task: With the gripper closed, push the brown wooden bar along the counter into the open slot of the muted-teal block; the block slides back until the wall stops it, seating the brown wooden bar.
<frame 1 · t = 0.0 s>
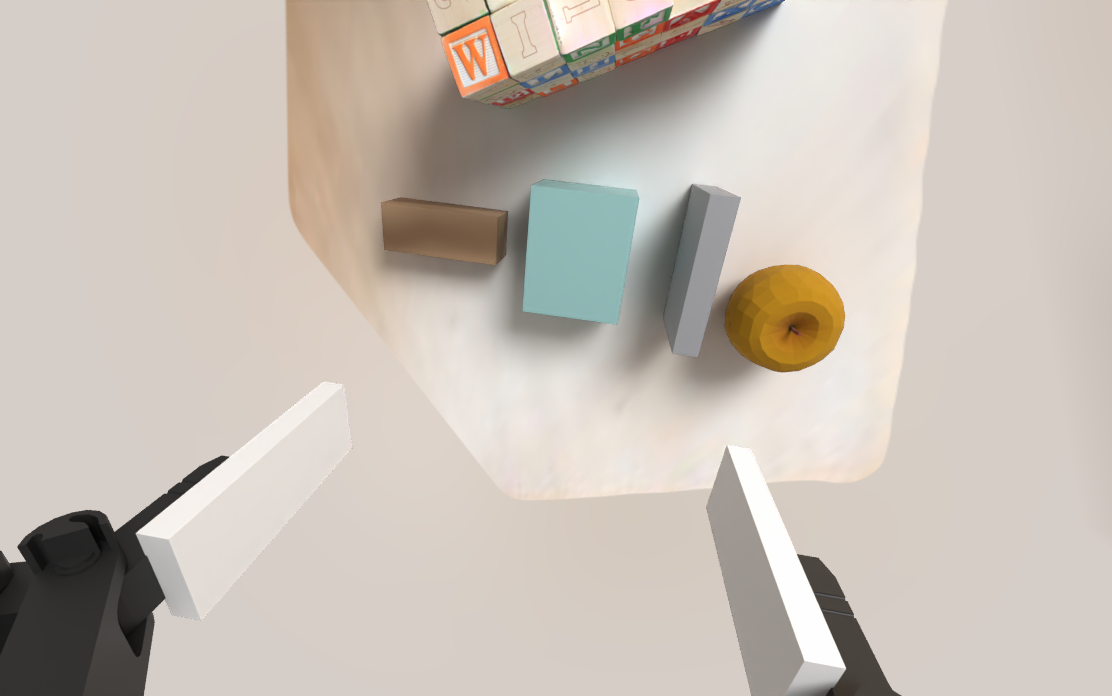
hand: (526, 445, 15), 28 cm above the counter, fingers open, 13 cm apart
block: (579, 250, 37), point 3 cm above the counter, slide at 0.0 cm
apple: (763, 298, 40), on the counter
wall: (688, 256, 39), on the counter
stack of blocks: (624, 15, 33), on the counter
brown wooden bar: (454, 226, 41), on the counter
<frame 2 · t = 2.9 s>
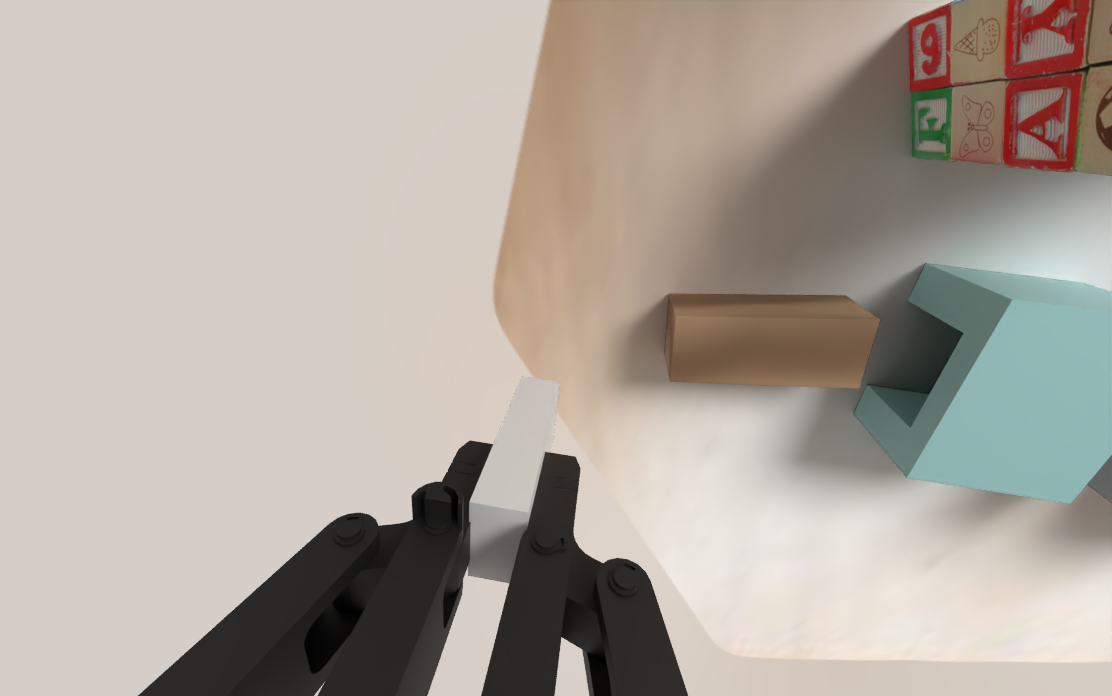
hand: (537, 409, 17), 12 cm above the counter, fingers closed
block: (995, 379, 23), point 3 cm above the counter, slide at 0.0 cm
brown wooden bar: (748, 324, 27), on the counter
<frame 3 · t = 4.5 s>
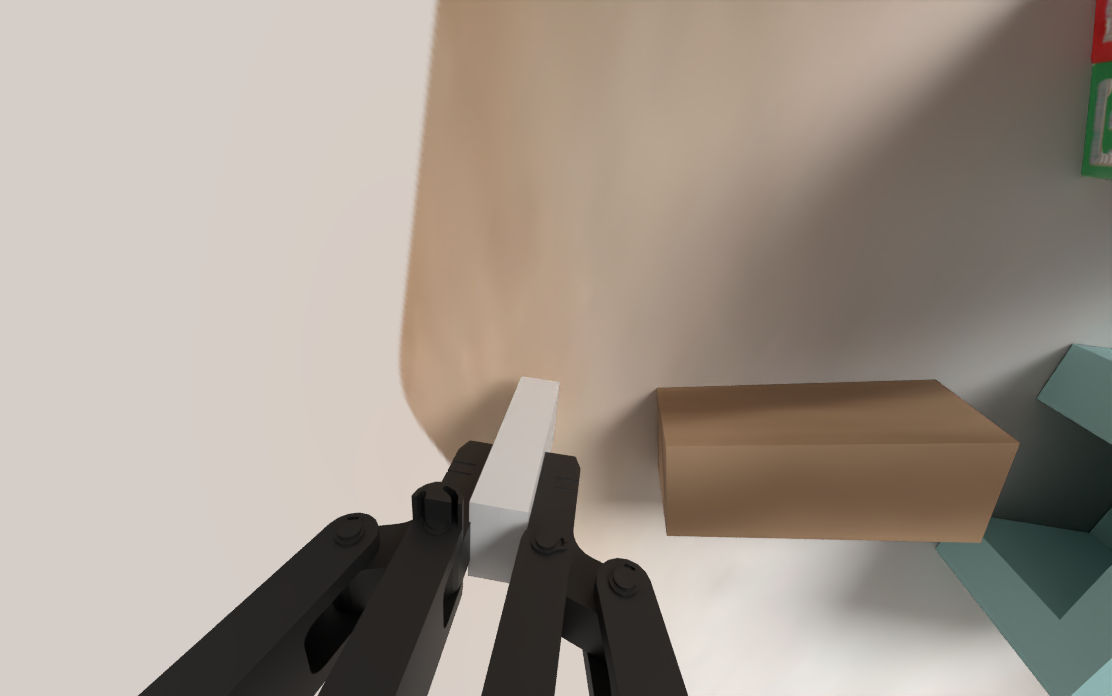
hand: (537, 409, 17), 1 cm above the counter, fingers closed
brown wooden bar: (782, 424, 18), on the counter
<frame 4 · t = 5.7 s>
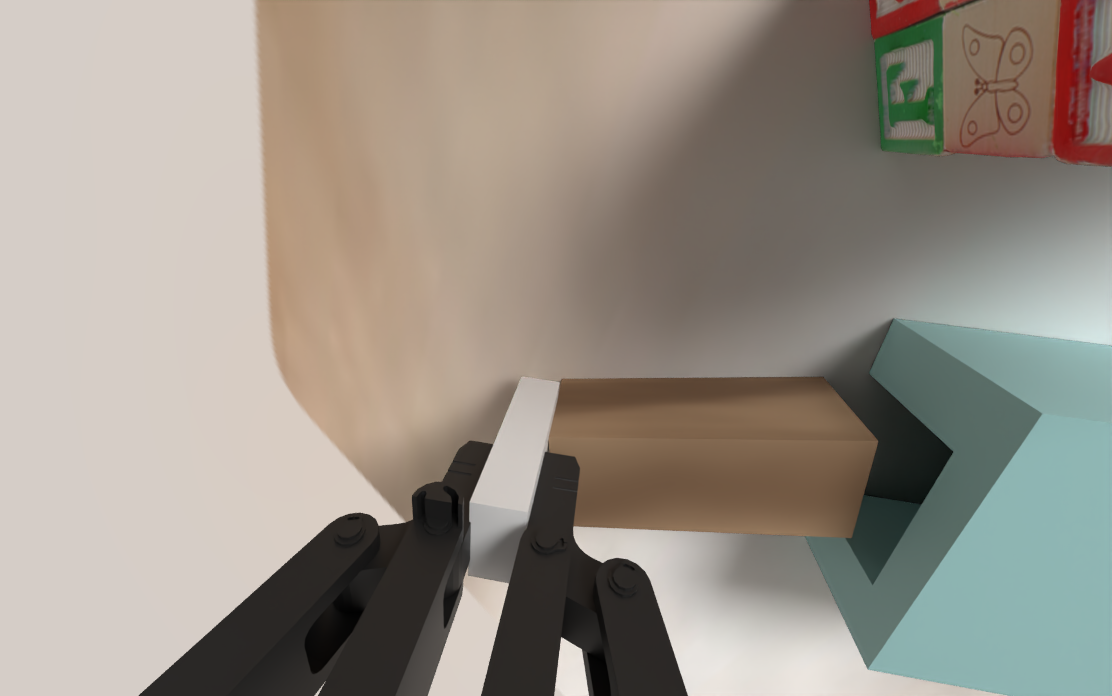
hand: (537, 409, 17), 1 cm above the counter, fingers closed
block: (1007, 507, 14), point 3 cm above the counter, slide at 0.0 cm
brown wooden bar: (684, 419, 18), on the counter, touching gripper
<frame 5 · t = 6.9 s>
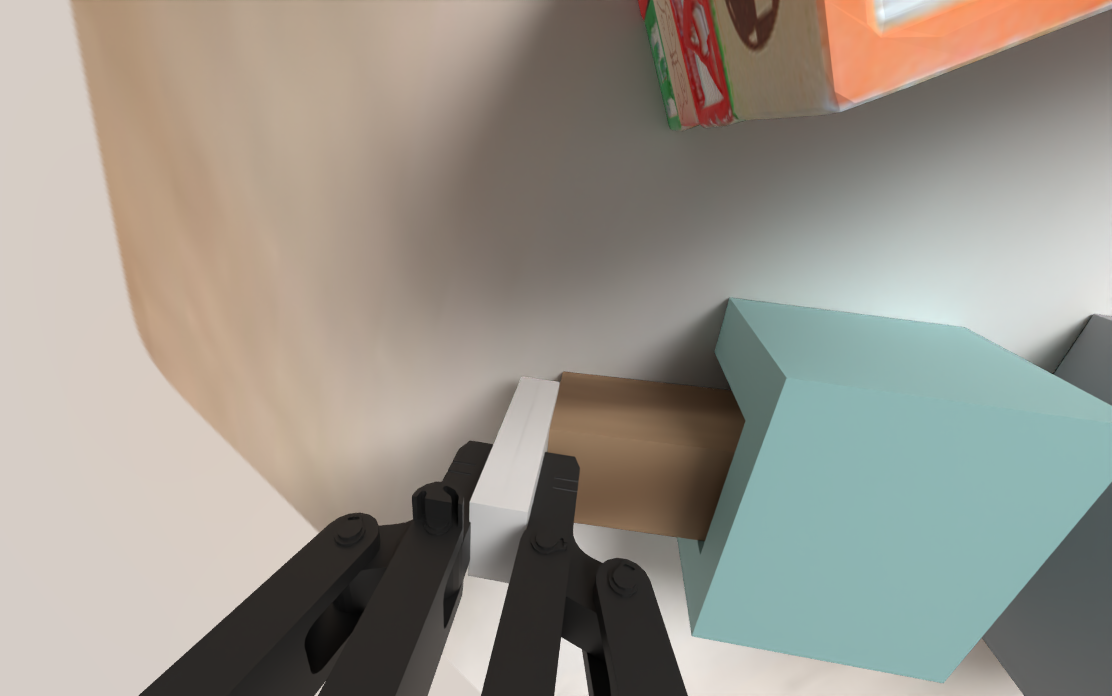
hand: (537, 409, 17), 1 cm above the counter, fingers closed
block: (830, 479, 15), point 3 cm above the counter, slide at 1.0 cm, touching brown wooden bar
wall: (1025, 461, 17), on the counter
brown wooden bar: (678, 426, 18), on the counter, touching block, gripper
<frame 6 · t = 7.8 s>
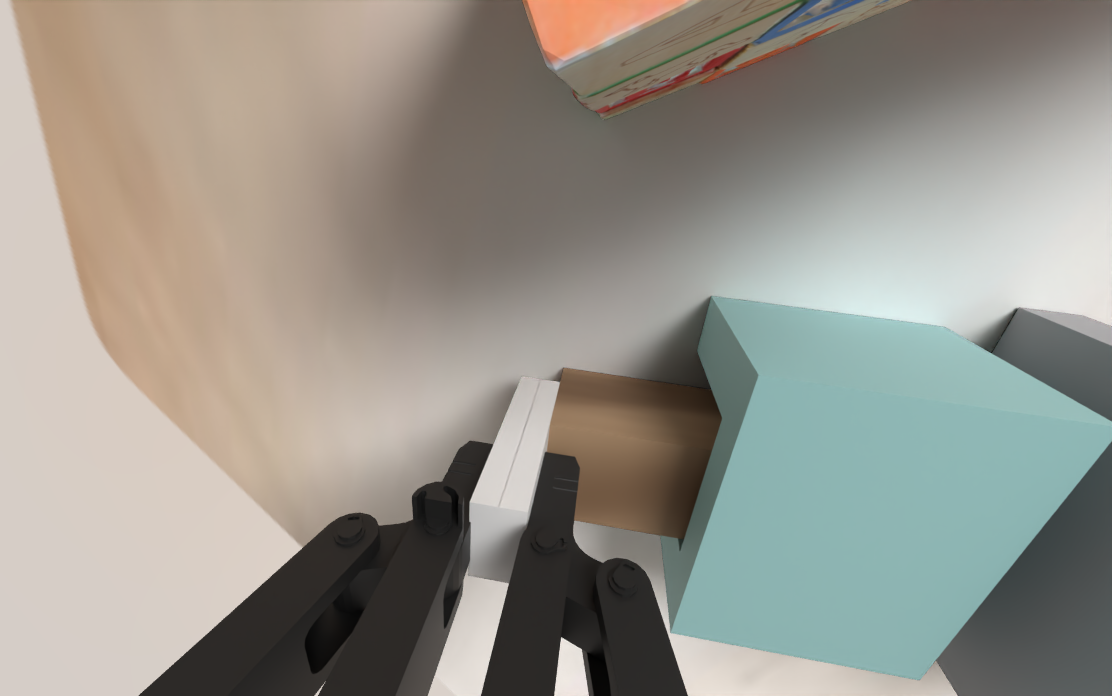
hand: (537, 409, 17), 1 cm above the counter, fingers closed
block: (809, 477, 15), point 3 cm above the counter, slide at 2.6 cm, touching brown wooden bar
wall: (961, 454, 17), on the counter
brown wooden bar: (676, 427, 18), on the counter, touching block, gripper
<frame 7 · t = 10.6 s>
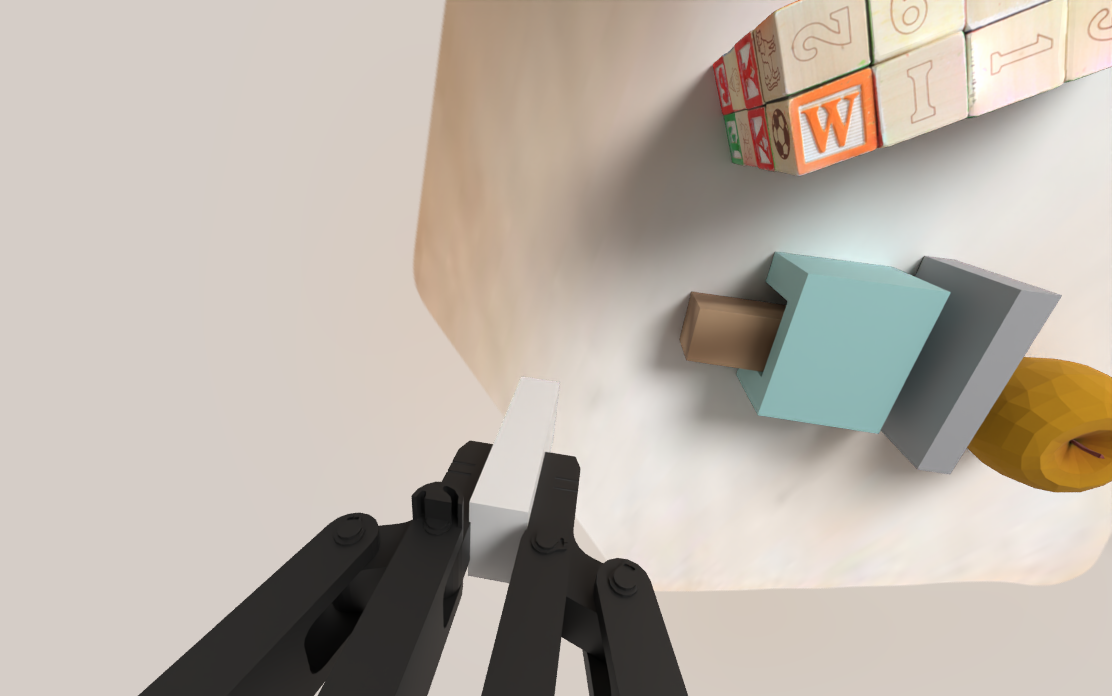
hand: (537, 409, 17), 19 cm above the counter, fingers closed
block: (825, 340, 30), point 3 cm above the counter, slide at 2.8 cm
apple: (984, 385, 34), on the counter
wall: (901, 337, 33), on the counter
stack of blocks: (904, 46, 26), on the counter
brown wooden bar: (749, 324, 34), on the counter
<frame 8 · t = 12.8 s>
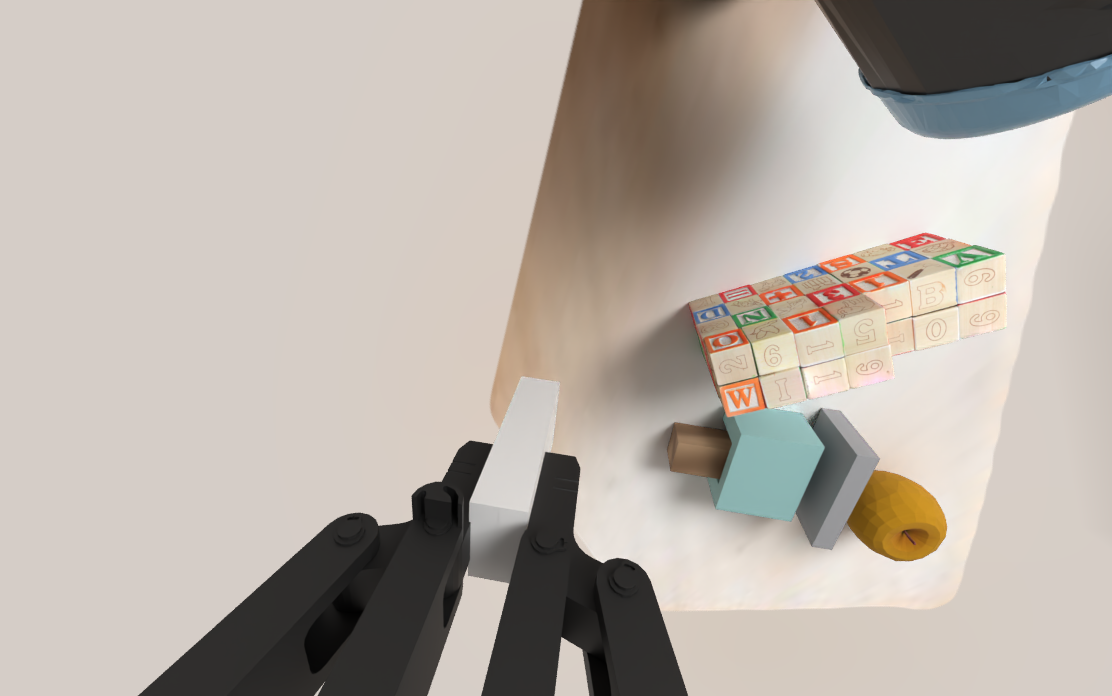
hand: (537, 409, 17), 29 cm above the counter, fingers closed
block: (758, 460, 48), point 3 cm above the counter, slide at 2.8 cm
apple: (868, 482, 51), on the counter
wall: (811, 453, 50), on the counter
stack of blocks: (802, 297, 43), on the counter
brown wooden bar: (713, 442, 52), on the counter
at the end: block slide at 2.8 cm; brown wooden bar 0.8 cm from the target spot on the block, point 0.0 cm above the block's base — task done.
